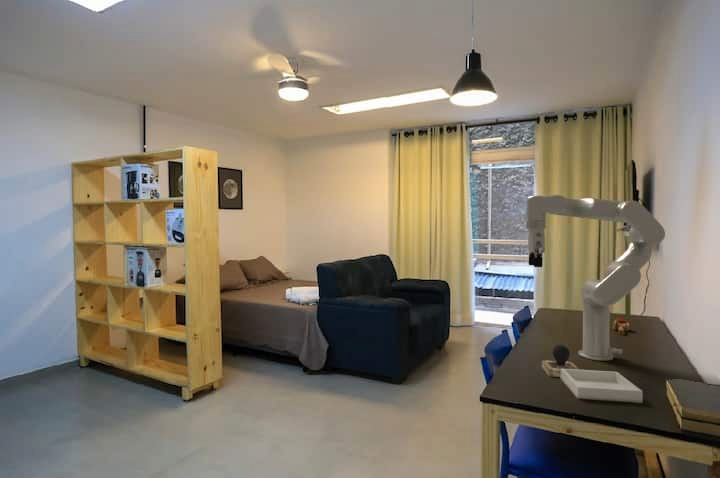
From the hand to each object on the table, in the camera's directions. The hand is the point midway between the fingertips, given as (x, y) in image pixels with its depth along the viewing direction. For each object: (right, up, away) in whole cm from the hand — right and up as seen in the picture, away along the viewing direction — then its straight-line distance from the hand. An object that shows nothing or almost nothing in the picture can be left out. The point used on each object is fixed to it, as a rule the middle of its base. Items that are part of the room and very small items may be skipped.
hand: (535, 266), depth 177 cm
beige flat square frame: (-1, -37, -24) cm, 44 cm away
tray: (+3, -37, -41) cm, 55 cm away
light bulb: (-1, -37, -24) cm, 44 cm away
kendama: (+62, -37, +41) cm, 83 cm away
